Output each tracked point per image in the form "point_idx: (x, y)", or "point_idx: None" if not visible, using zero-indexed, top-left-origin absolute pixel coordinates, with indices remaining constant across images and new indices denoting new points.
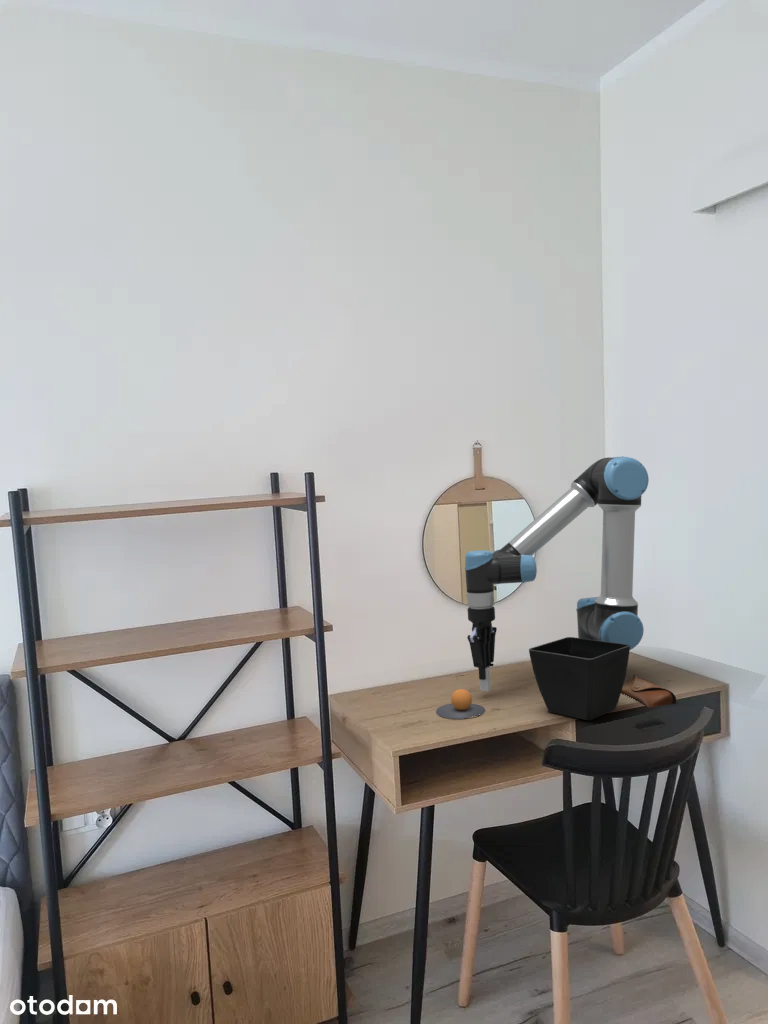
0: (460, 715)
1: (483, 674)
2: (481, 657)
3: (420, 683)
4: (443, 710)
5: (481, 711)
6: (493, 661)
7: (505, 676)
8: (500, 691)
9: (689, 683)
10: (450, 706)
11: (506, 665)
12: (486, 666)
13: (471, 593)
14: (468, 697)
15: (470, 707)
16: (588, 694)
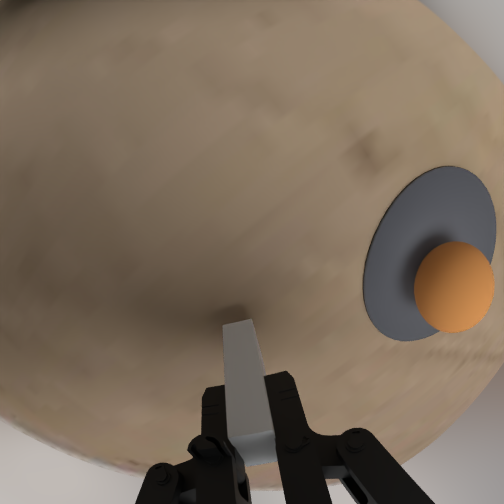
0: (477, 224)
1: (298, 398)
2: (389, 498)
3: (260, 477)
4: None
5: (428, 187)
6: (154, 466)
7: (33, 390)
8: (133, 321)
9: None
10: (420, 318)
11: (7, 416)
12: (276, 443)
13: None
14: (476, 255)
15: (407, 259)
16: None
